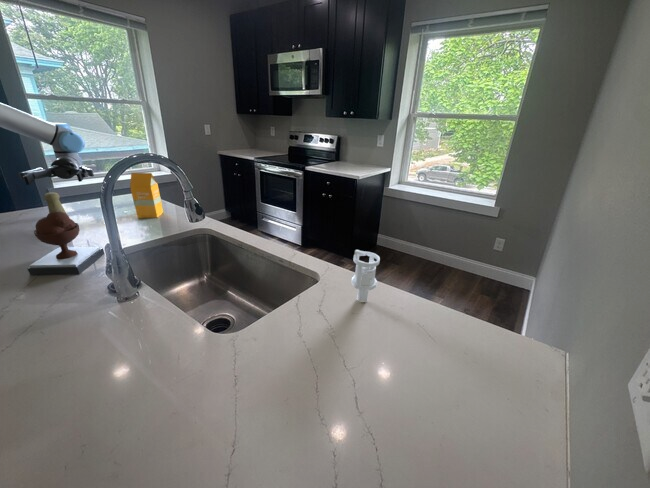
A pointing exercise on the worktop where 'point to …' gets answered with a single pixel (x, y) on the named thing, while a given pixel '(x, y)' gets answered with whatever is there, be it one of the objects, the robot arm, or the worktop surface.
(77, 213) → the worktop surface
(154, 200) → the orange juice
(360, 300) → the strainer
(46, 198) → the cork
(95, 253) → the scale
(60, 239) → the ice cream bowl
